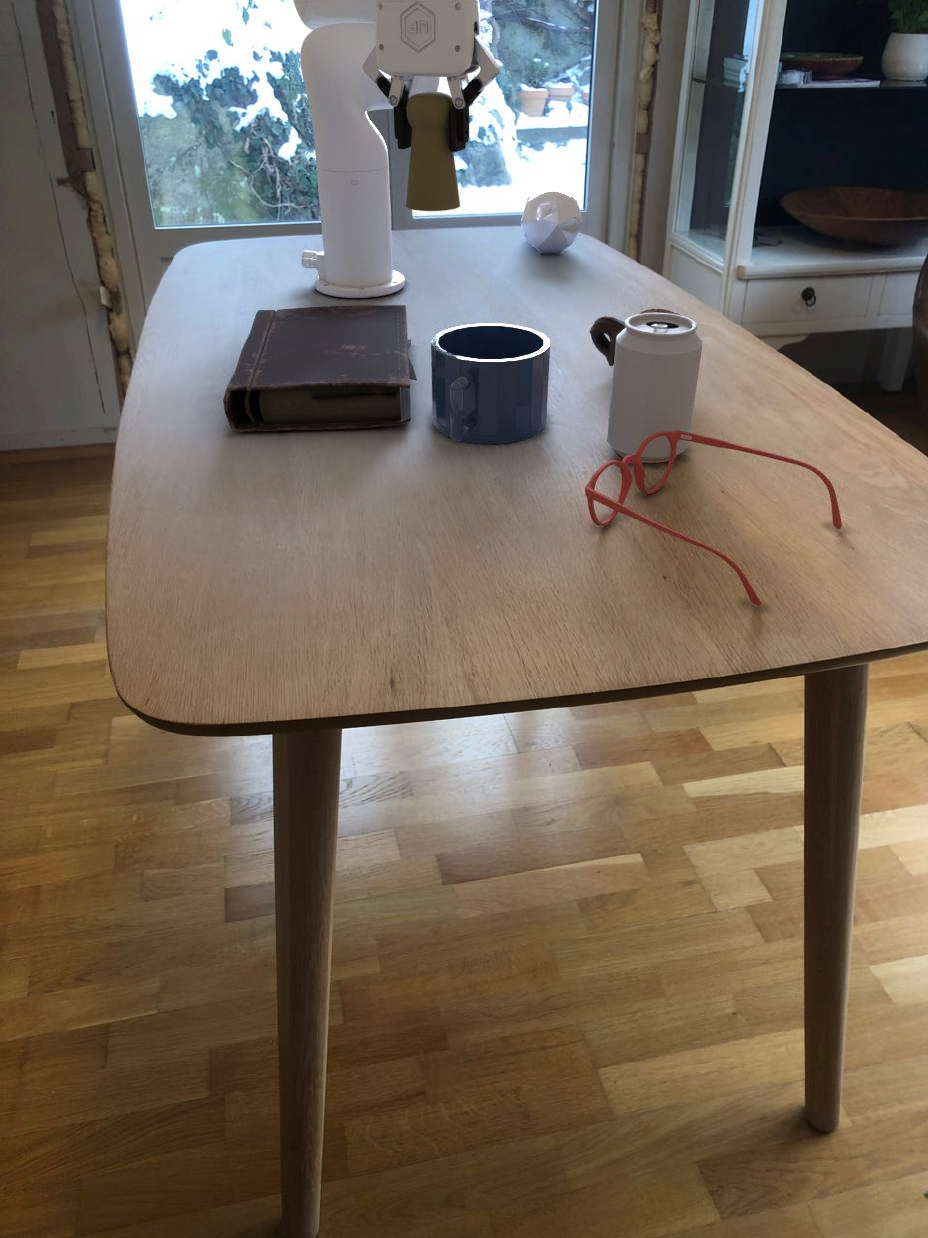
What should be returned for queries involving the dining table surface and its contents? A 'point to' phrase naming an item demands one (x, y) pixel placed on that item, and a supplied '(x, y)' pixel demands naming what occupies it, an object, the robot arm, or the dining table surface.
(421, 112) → the cork
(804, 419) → the dining table surface
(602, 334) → the pottery mug
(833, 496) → the red eyeglasses
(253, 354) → the diary
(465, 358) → the blue coffee cup
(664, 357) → the can
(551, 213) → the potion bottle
